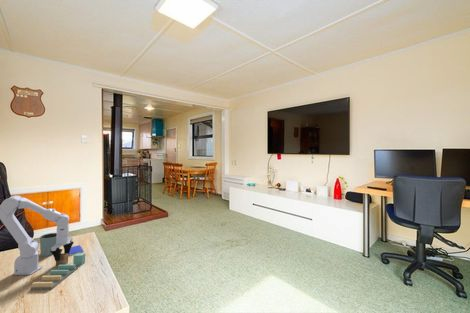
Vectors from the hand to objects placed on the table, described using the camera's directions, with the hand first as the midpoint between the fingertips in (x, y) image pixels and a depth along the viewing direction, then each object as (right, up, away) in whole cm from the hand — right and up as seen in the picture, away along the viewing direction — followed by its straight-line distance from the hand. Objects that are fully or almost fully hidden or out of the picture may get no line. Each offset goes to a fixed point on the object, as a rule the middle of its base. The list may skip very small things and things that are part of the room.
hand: (62, 257), depth 126 cm
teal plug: (+10, -5, +1) cm, 11 cm away
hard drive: (-6, -5, +18) cm, 19 cm away
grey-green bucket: (-20, -4, +13) cm, 24 cm away
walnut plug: (0, -4, 0) cm, 4 cm away
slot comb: (+8, -5, -14) cm, 17 cm away
